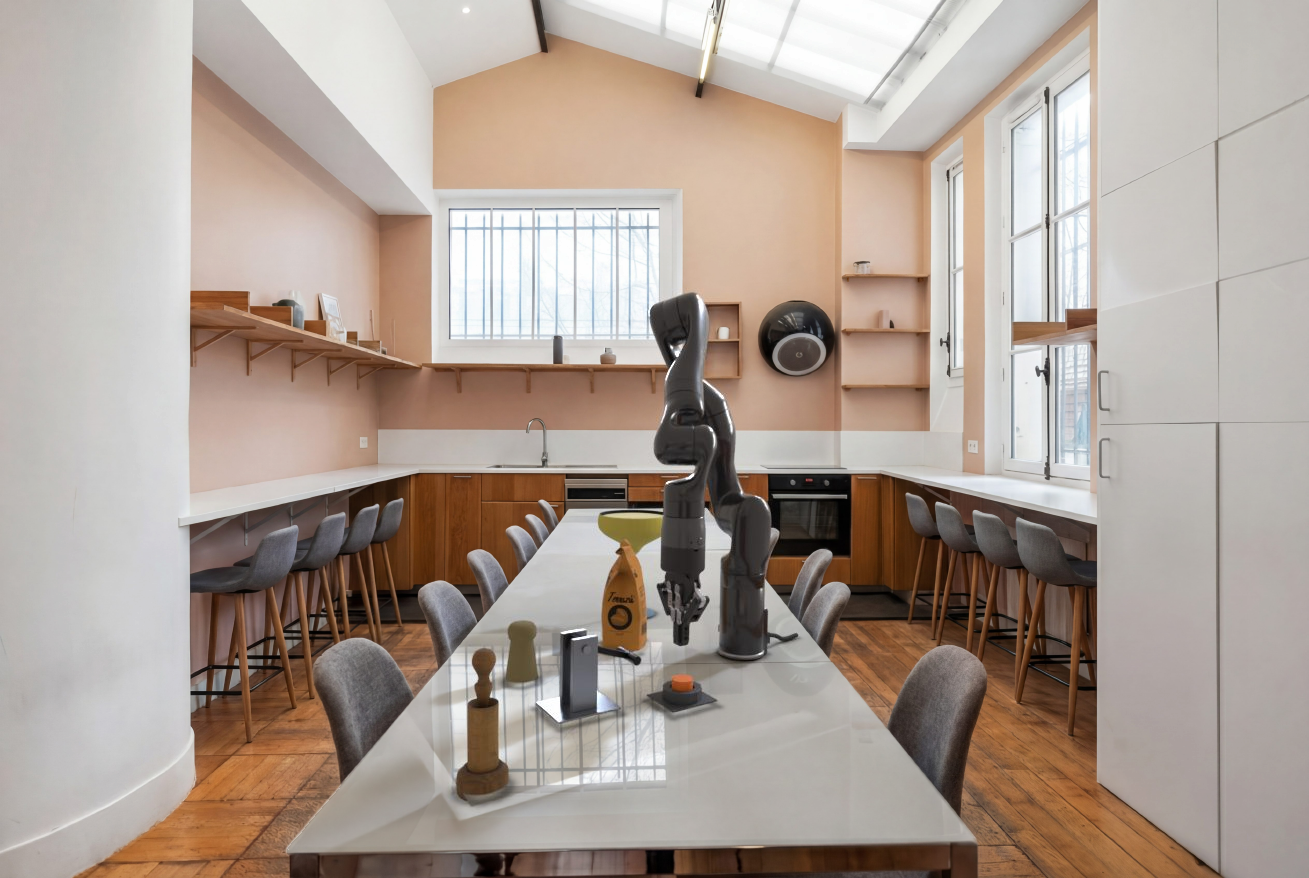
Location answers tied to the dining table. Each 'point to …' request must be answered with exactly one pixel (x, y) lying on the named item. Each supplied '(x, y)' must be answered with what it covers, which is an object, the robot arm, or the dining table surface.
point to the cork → (521, 652)
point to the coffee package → (624, 603)
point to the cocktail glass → (632, 529)
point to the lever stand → (578, 680)
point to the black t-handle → (614, 652)
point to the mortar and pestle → (482, 735)
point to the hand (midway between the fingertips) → (680, 644)
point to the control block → (681, 697)
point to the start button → (682, 682)
